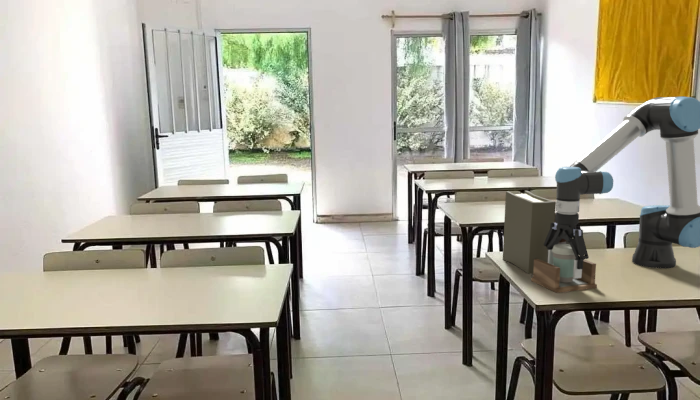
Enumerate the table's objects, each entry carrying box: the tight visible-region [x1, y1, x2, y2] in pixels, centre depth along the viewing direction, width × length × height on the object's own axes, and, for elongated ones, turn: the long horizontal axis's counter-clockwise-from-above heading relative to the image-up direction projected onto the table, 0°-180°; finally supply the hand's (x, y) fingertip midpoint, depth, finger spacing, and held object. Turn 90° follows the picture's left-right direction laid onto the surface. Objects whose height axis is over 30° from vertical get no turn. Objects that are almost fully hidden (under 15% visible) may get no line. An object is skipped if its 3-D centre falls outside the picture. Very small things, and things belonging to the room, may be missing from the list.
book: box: [502, 190, 556, 275], centre depth 222 cm, size 22×9×28 cm, turn 12°
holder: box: [530, 259, 598, 294], centre depth 200 cm, size 16×14×8 cm
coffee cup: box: [552, 244, 576, 283], centre depth 199 cm, size 8×8×12 cm
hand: (563, 272), depth 200 cm, fingers open, 13 cm apart
